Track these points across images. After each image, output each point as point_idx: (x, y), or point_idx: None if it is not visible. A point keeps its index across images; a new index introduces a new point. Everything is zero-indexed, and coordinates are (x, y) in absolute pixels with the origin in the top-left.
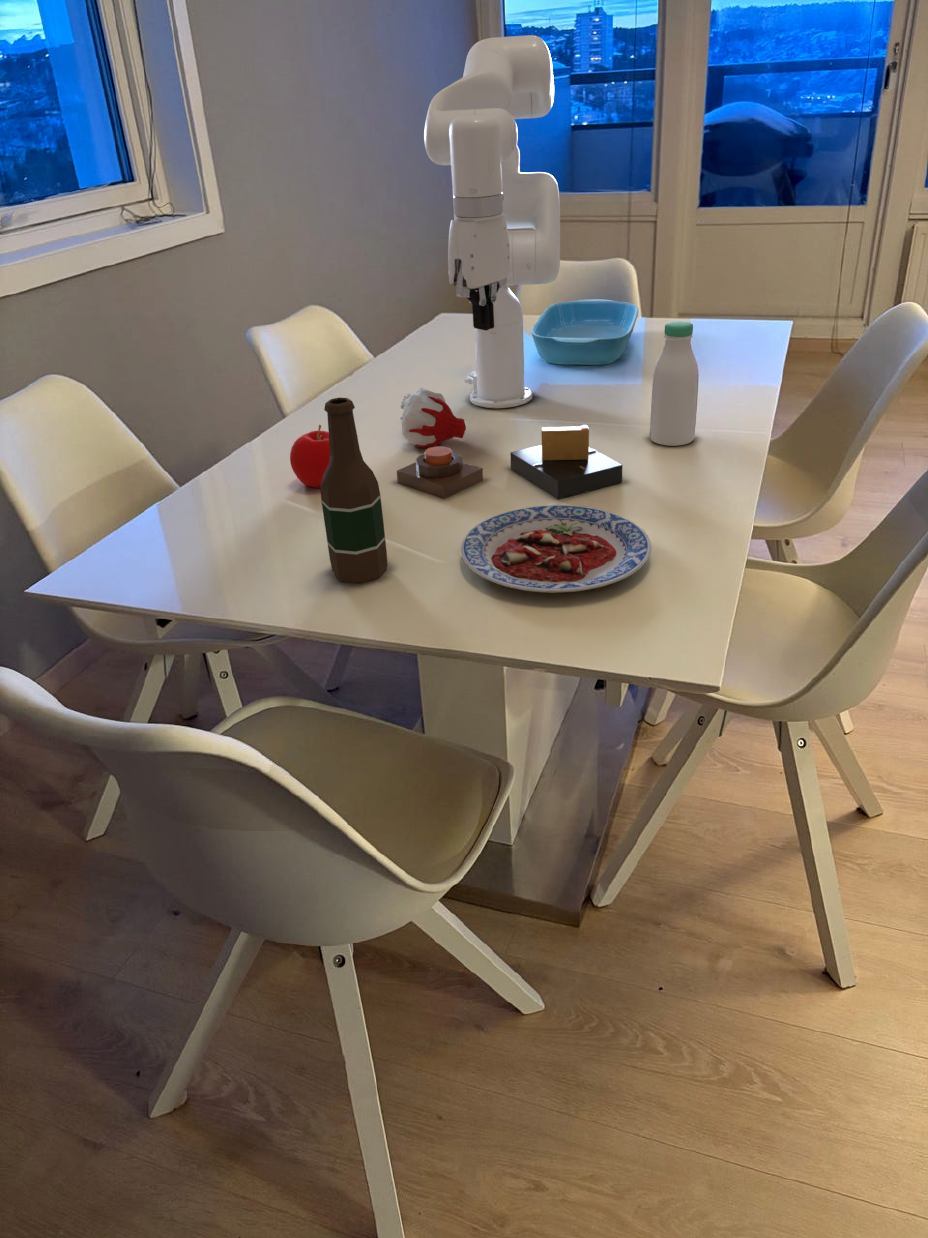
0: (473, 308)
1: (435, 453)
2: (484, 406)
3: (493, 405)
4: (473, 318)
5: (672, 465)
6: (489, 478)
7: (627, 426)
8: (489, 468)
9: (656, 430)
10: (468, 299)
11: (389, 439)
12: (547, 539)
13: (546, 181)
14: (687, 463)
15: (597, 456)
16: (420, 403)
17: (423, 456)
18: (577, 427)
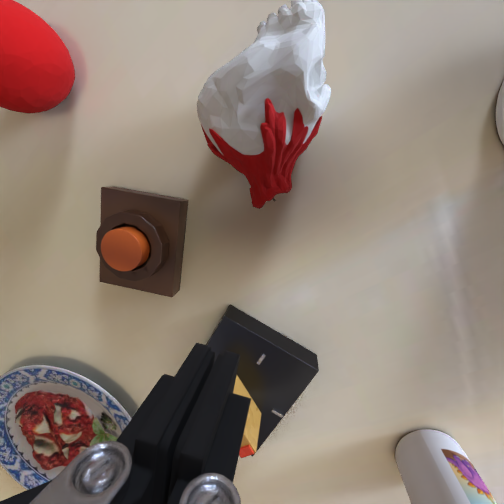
0: (120, 437)
1: (111, 252)
2: (497, 100)
3: (499, 123)
4: (154, 387)
5: (330, 470)
6: (190, 293)
7: (464, 386)
8: (219, 276)
9: (404, 458)
10: (26, 492)
11: (249, 35)
12: (61, 437)
13: None
14: (344, 482)
15: (264, 423)
16: (226, 110)
17: (123, 219)
18: (242, 441)
